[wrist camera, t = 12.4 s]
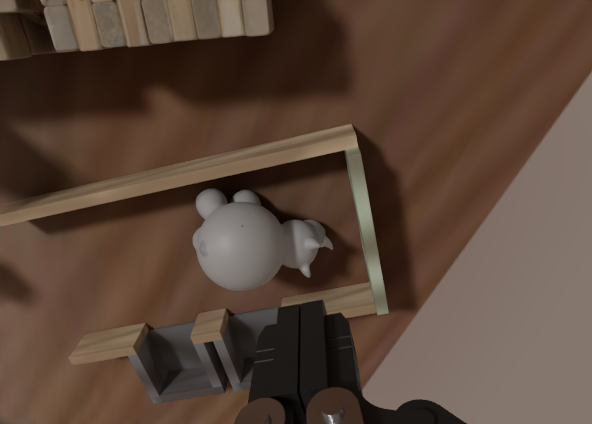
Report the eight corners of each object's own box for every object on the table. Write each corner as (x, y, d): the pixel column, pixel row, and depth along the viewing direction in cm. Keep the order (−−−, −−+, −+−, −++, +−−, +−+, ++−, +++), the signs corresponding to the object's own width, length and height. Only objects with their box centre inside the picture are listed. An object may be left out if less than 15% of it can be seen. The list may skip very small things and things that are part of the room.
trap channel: (8, 202, 37) (-33, 227, 33) (351, 123, 34) (358, 139, 29) (116, 385, 47) (96, 424, 43) (390, 340, 43) (400, 377, 39)
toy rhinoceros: (301, 248, 42) (336, 304, 35) (183, 247, 37) (197, 312, 30) (320, 186, 39) (362, 234, 32) (193, 176, 34) (212, 230, 27)
